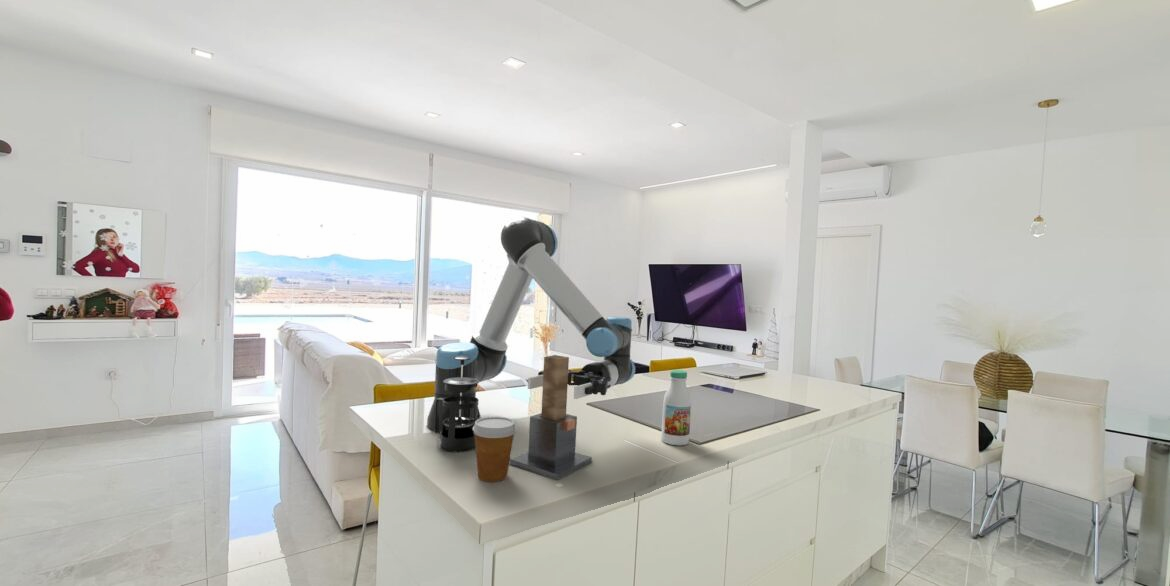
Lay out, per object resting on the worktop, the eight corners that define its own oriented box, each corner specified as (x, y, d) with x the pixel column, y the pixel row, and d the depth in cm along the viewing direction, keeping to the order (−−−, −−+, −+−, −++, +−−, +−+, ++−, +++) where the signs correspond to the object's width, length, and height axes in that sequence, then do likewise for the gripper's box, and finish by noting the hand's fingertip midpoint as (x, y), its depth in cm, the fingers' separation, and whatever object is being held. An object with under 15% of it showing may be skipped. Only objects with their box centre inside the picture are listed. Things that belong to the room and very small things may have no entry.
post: (538, 457, 116) (543, 356, 116) (550, 452, 120) (554, 355, 119) (553, 461, 114) (558, 359, 113) (564, 456, 117) (569, 357, 117)
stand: (509, 464, 115) (511, 416, 115) (546, 448, 127) (548, 405, 126) (557, 479, 107) (559, 429, 107) (591, 461, 119) (594, 416, 119)
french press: (485, 442, 129) (489, 355, 128) (470, 454, 120) (474, 361, 119) (444, 437, 131) (447, 352, 131) (426, 449, 122) (430, 357, 121)
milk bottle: (655, 440, 138) (659, 369, 137) (672, 435, 143) (676, 367, 143) (677, 448, 132) (681, 374, 132) (694, 443, 137) (698, 372, 137)
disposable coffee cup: (462, 474, 108) (464, 420, 107) (498, 464, 114) (500, 413, 114) (486, 489, 101) (488, 431, 100) (523, 477, 107) (525, 423, 107)
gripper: (639, 397, 126) (595, 414, 108) (560, 382, 139) (510, 394, 122) (640, 368, 126) (597, 380, 108) (562, 356, 139) (512, 364, 121)
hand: (551, 388), depth 115 cm, fingers open, 13 cm apart
